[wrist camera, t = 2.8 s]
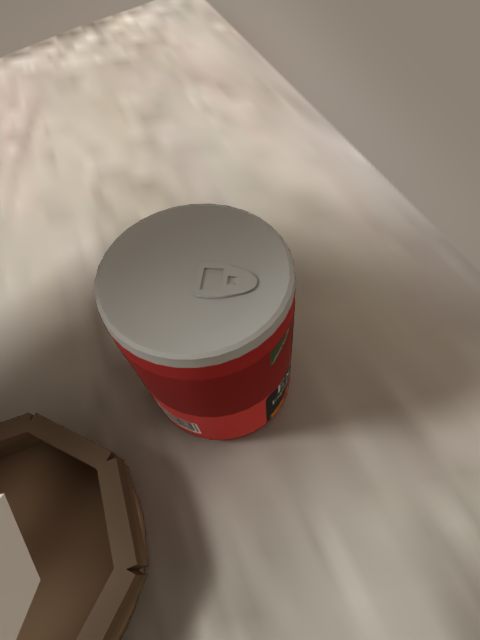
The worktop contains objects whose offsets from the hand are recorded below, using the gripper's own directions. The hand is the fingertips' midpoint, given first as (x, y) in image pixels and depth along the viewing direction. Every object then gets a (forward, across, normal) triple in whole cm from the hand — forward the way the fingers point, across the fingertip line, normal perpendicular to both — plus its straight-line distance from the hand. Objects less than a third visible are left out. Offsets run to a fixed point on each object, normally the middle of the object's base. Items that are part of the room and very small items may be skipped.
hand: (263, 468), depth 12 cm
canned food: (+15, -1, -3) cm, 15 cm away
